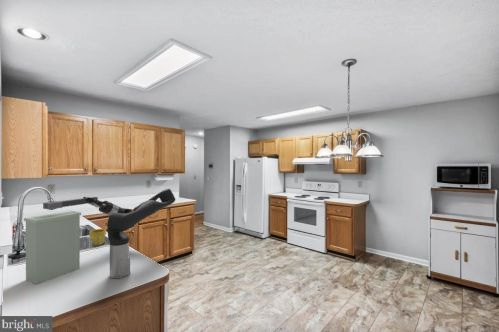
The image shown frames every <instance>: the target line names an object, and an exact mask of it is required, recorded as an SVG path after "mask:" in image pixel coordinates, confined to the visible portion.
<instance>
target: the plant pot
mask: <svg viewBox="0 0 499 332" xmlns="http://www.w3.org/2000/svg"><path fill="white" fill-rule="evenodd" d="M106 229H107V228H106ZM106 229H105V228H98V229H92V230H91V231H89V238H90V239H91V243H92V246H100V245H101V246H102V244H104V243H105V237H106V235H107V230H106Z"/></svg>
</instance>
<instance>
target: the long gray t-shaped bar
mask: <svg viewBox="0 0 499 332" xmlns="http://www.w3.org/2000/svg"><path fill="white" fill-rule="evenodd" d="M89 198H92V199H95V200H99V198H98V197H97V196H89ZM86 199H87V198H83V197H82V198H75V199H74V198H73V199H68V200H66V199H65V200H58V201H48V202H43V203H42V209H45V210H55V209H60V208H62V209H63V208H65V207H72V206H79V205H80V206H81V205H85V204H86V205H87V204H88V203H91V202H88V201H86Z"/></svg>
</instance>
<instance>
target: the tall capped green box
mask: <svg viewBox="0 0 499 332" xmlns="http://www.w3.org/2000/svg"><path fill="white" fill-rule="evenodd" d="M81 215H82V212H80V211H74V210H66V211H60V212H54V213H46V214H42V215H40V214H39V215H35V216H29V217H23V221H24V222H25V281H27V282H29V283H31V284H34V285H36V286H37V285H39V284H41V283H45V282H47V281H51V280H52V279H55V278H58V277H61V276H62V275H66V274H68V273H72V272H74V271H76V270H79V269H80V267H81V266H80V264H81V263H80V261H81V260H80V256H81V255H80V253H81V252H80V249H81V247H80V246H81V245H80V243H81V241H80V236H81V235H80V233H81V230H80V228H81V226H80V216H81Z"/></svg>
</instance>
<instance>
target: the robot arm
mask: <svg viewBox="0 0 499 332" xmlns="http://www.w3.org/2000/svg"><path fill="white" fill-rule="evenodd" d="M89 197H90V196H89ZM89 197H88V196H87V197H86V196H83V197H82V198H87V199H86V201H88V202H91V203H87V204H88V205H91V206H93V207H94V208H98V211H99V212H100V213H103V214H105V215H108V216H109V217H108V219H107V228H106V229H107V240H108V242H109V277H110V278H111V279H122V278H124V277H126V276H129V275H130V274H131V256H130V237H129V235H127V234H126V233H125V232H126V231H128V230H130V229H131V228H133V227H134V226H136V225H137V224H138V223H140V222H142V221H143V220H145V219H147V218H149V217H151V216H153V215H154V214H155V213H157V212H158V211H160V210H162V209H164V208H167V207H169V206H171V205H172V204H174V203H175V201H176V197H175V194H174V193H173V192H172V190H171V189H170V188H167V189H164V190H162V191H160V192H158V193H157V194H155V195H153V196H152V197H150V198H149V199H148V200H145V201H143V202H141V203H140V204H138V205H137V206H135V207H134V208H133V210H132V209H131V208H124V207H121V206H118V205H117V204H115V203H112V202H110V201H108V200H104V201H101V200H100V199H98V200H95V199H92V198H89ZM158 200H160V201H158Z"/></svg>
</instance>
